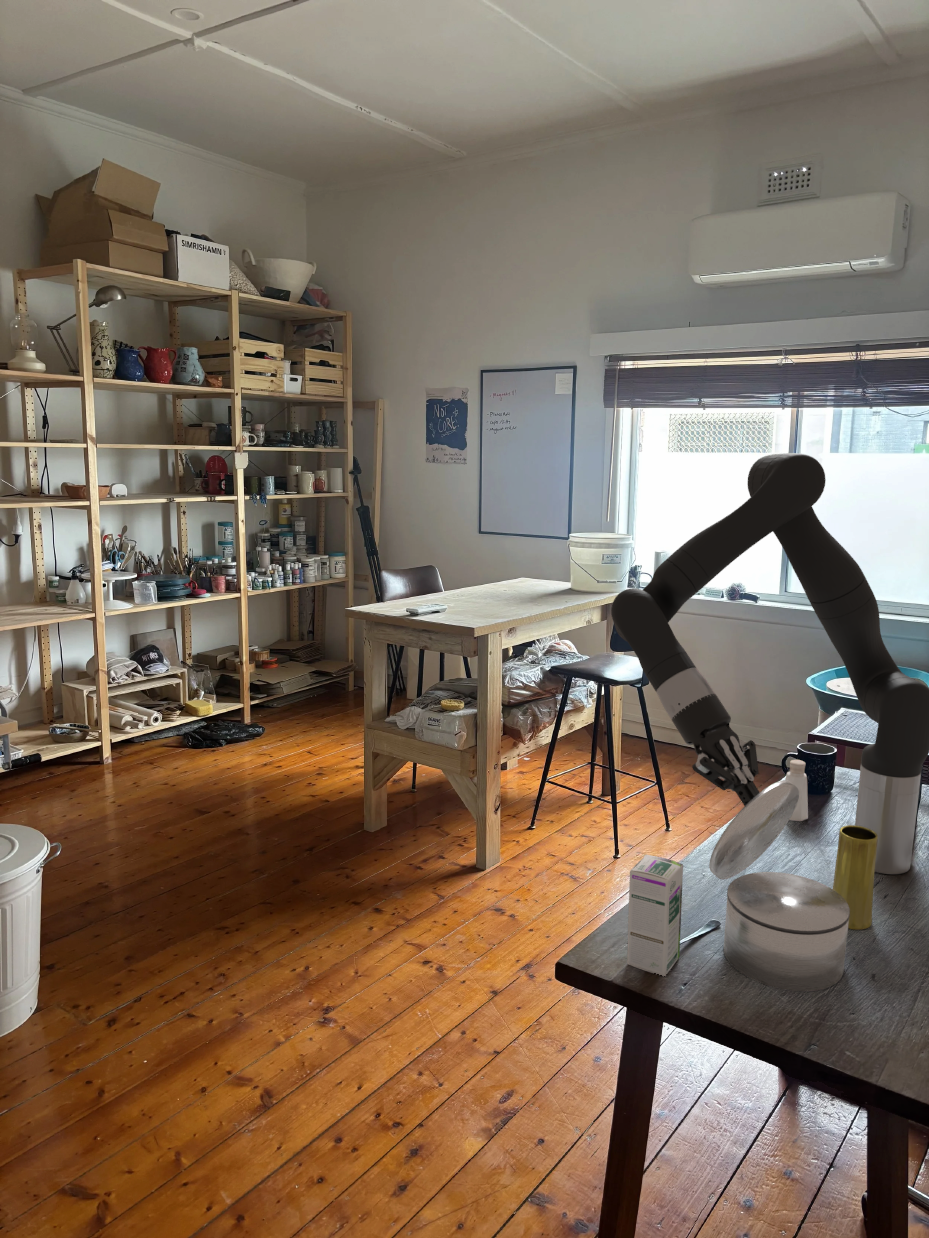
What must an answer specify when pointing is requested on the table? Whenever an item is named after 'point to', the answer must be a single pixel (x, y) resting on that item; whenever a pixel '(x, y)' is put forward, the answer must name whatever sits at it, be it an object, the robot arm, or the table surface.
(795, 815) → the pepper shaker
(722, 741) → the robot arm
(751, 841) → the pot lid
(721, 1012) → the table surface
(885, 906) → the table surface
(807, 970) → the steel pot
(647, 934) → the syrup box
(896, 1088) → the table surface
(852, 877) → the vase
